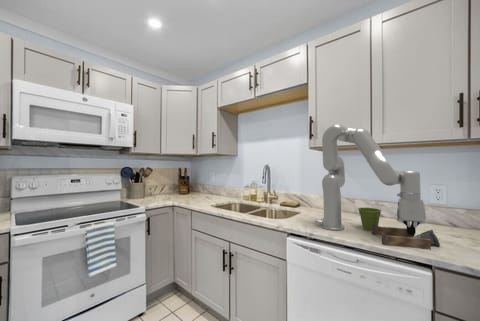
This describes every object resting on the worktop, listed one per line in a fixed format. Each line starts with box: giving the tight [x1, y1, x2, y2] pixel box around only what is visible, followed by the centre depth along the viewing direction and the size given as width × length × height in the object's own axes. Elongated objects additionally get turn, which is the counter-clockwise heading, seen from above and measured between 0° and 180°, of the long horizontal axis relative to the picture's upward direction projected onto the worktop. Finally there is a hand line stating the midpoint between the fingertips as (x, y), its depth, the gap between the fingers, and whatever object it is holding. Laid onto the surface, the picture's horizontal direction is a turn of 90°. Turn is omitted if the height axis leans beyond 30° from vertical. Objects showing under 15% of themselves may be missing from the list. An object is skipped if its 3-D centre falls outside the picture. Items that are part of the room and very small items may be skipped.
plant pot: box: [357, 207, 383, 232], centre depth 122 cm, size 12×12×11 cm
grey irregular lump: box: [412, 229, 441, 247], centre depth 100 cm, size 10×7×12 cm
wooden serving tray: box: [371, 224, 432, 250], centre depth 103 cm, size 18×17×5 cm
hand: (411, 234), depth 101 cm, fingers closed
